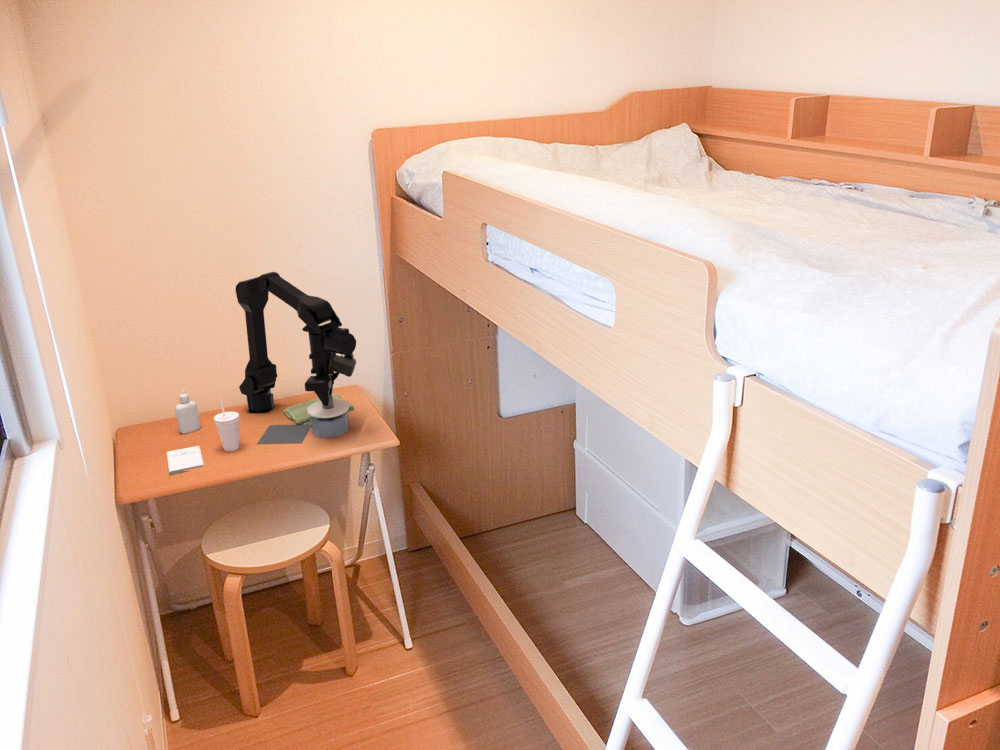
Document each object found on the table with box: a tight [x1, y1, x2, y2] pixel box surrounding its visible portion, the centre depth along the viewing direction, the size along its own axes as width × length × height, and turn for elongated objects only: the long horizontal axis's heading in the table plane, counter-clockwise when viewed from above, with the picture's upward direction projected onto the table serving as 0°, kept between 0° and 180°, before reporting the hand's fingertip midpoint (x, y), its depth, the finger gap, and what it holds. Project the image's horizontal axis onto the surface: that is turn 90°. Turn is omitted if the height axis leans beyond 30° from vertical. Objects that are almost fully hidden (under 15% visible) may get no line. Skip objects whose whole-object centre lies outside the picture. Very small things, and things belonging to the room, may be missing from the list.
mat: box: [256, 424, 312, 445], centre depth 216 cm, size 12×12×1 cm
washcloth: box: [282, 392, 355, 425], centre depth 230 cm, size 13×18×3 cm
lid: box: [307, 395, 349, 418], centre depth 215 cm, size 11×11×4 cm
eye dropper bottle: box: [174, 389, 202, 435], centre depth 220 cm, size 4×6×12 cm
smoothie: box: [213, 400, 241, 452], centre depth 207 cm, size 6×6×14 cm
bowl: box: [311, 412, 349, 439], centre depth 217 cm, size 9×9×5 cm
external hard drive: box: [166, 445, 205, 476], centre depth 204 cm, size 2×8×12 cm
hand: (327, 403), depth 215 cm, fingers closed on lid, 3 cm apart
